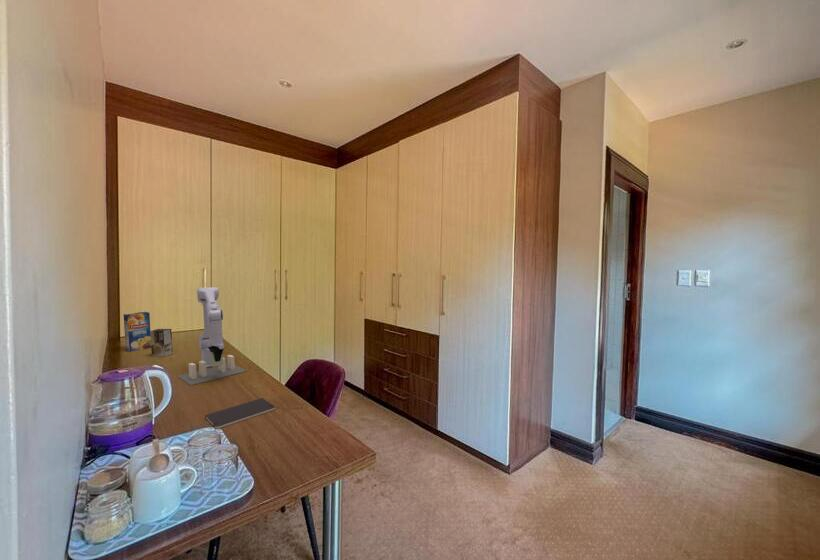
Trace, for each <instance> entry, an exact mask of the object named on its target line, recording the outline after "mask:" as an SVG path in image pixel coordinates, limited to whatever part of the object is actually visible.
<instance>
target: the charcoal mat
mask: <svg viewBox="0 0 820 560" xmlns="http://www.w3.org/2000/svg"><path fill="white" fill-rule="evenodd" d="M225 364H226V372H221V371H219V370H218V366H215V367H208V368H206V371H207V376H205V377H202V376H200V375H199V370H196V376H197V379H191V378H189V372H188V373H183V374H179V375H177V378H179V379H180V380H182V382H184V383H186V384H187V385H189V387H191V386H195V385H199V384H205V383H207V382H208V383H209V382H212V381H215V380H219V379H222V378H227V377H230V376H235V375H238V374H242V373H246V372H248V370H246V369H244V368H242V367H240V366H238V365H236V364H235V369H234V370H230V369H228V367H227V363H225Z"/></svg>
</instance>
